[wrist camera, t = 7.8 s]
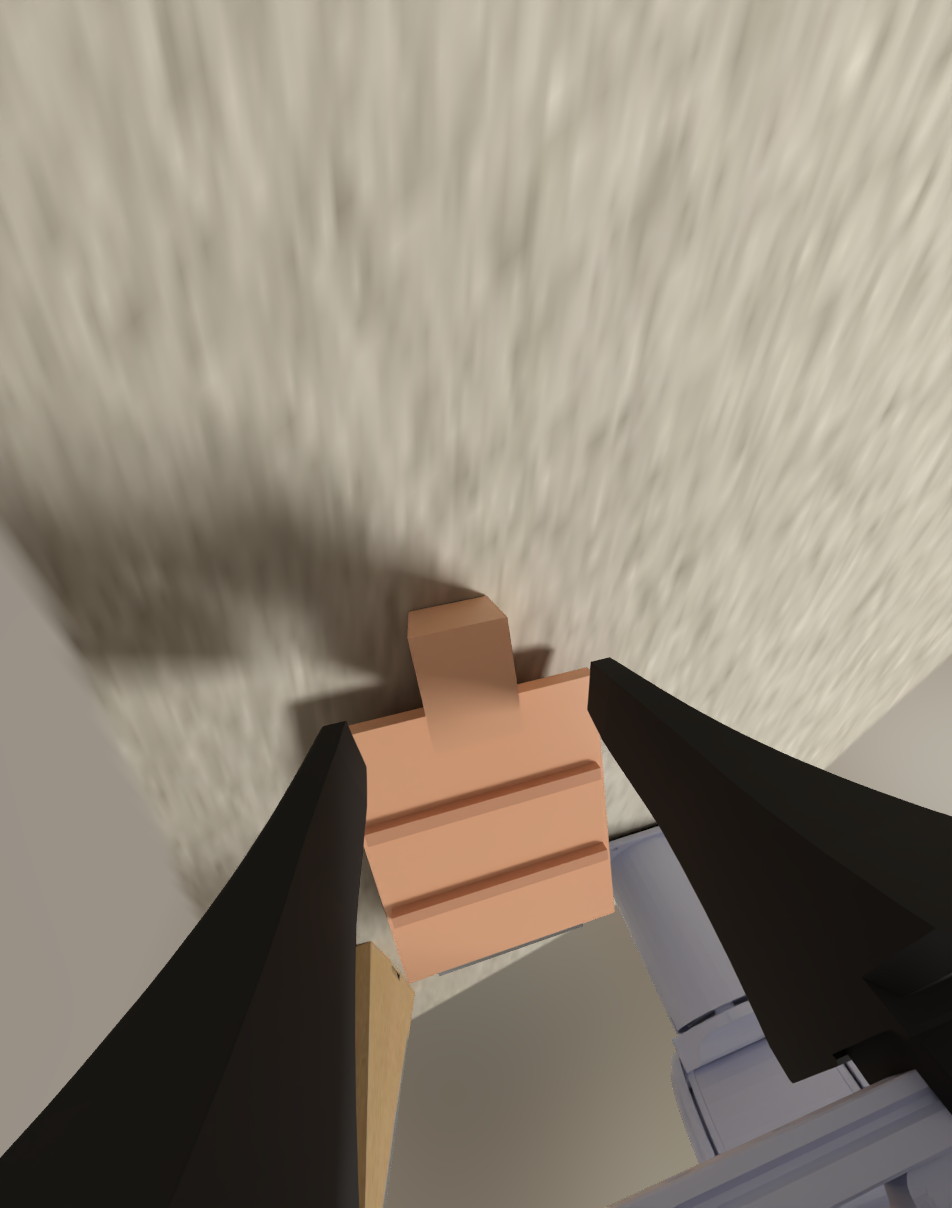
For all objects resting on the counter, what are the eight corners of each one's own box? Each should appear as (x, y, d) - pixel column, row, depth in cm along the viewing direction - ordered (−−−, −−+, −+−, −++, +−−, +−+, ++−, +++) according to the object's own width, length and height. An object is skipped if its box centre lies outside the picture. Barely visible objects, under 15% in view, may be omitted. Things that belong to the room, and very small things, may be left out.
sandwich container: (328, 1022, 33) (290, 1410, 20) (255, 976, 25) (116, 1569, 12) (417, 990, 34) (434, 1340, 21) (374, 937, 26) (360, 1445, 13)
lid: (579, 576, 14) (623, 591, 11) (607, 897, 18) (643, 967, 15) (302, 633, 12) (269, 668, 9) (408, 965, 17) (408, 1056, 14)
